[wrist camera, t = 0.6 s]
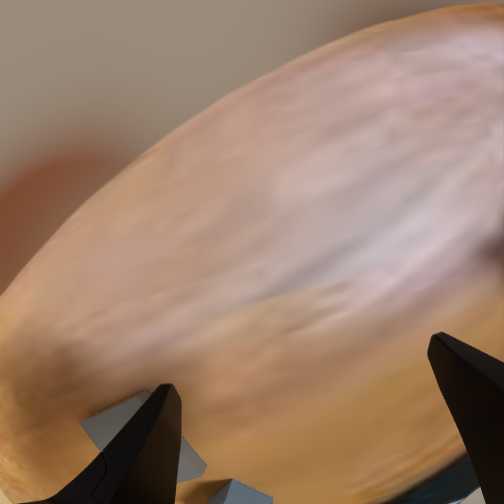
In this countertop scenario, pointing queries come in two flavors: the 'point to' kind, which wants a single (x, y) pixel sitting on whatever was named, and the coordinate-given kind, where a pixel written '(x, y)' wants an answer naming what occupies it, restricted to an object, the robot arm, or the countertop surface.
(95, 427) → the slate pad
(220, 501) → the slate block
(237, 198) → the countertop surface
